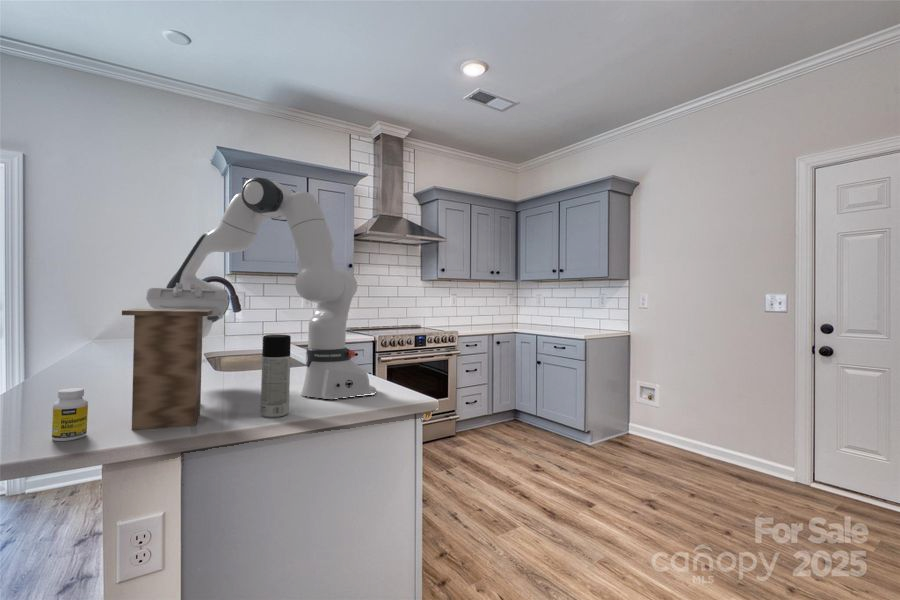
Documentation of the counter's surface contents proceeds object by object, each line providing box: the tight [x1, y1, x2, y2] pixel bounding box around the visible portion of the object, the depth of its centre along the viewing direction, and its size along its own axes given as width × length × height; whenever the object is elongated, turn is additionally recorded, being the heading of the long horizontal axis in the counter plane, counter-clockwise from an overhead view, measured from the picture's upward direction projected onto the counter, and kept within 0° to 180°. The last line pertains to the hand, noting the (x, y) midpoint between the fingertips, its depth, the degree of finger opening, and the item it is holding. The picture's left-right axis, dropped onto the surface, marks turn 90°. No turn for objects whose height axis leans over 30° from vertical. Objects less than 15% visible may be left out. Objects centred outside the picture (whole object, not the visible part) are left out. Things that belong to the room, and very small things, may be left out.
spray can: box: [260, 334, 292, 419], centre depth 110 cm, size 7×7×20 cm
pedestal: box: [121, 308, 213, 431], centre depth 101 cm, size 16×11×26 cm
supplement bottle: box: [51, 387, 89, 442], centre depth 89 cm, size 5×5×10 cm
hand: (186, 285), depth 121 cm, fingers open, 2 cm apart
